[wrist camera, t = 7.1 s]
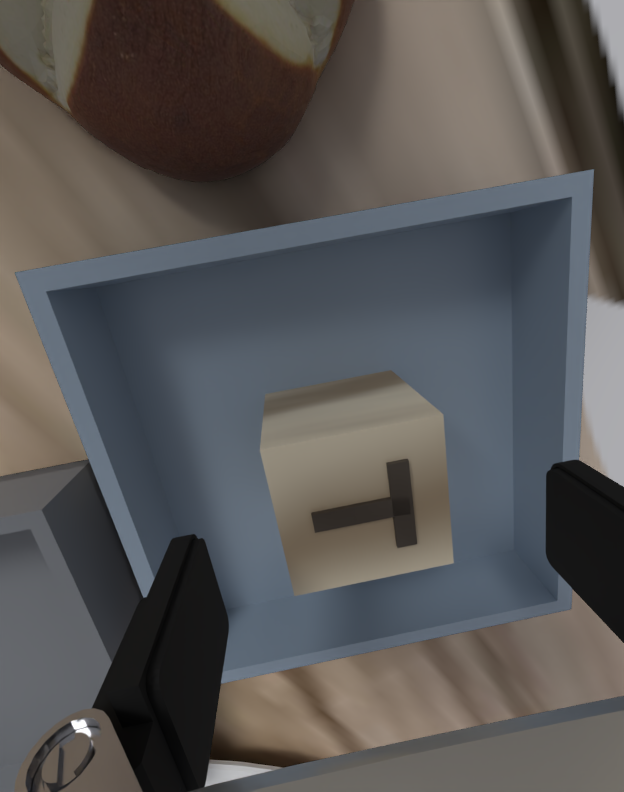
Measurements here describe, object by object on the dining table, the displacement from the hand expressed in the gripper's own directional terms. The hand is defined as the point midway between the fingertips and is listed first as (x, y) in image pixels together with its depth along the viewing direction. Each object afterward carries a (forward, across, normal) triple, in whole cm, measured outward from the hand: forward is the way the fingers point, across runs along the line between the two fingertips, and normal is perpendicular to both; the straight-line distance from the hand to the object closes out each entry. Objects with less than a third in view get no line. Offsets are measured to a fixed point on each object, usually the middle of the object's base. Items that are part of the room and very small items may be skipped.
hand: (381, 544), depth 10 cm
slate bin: (+6, 0, -1) cm, 7 cm away
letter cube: (+6, 0, -1) cm, 6 cm away
